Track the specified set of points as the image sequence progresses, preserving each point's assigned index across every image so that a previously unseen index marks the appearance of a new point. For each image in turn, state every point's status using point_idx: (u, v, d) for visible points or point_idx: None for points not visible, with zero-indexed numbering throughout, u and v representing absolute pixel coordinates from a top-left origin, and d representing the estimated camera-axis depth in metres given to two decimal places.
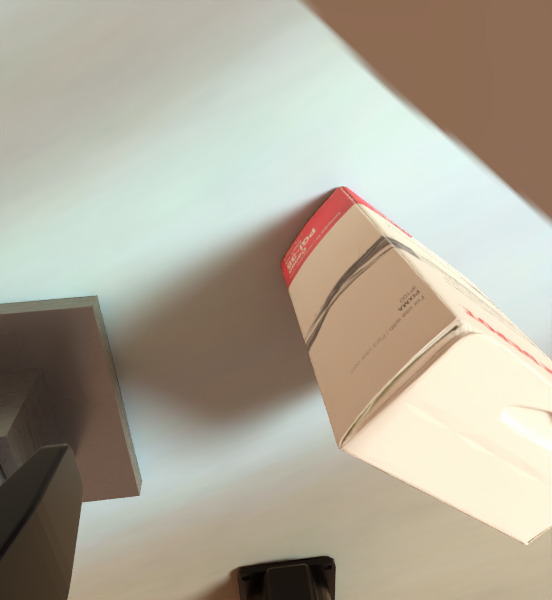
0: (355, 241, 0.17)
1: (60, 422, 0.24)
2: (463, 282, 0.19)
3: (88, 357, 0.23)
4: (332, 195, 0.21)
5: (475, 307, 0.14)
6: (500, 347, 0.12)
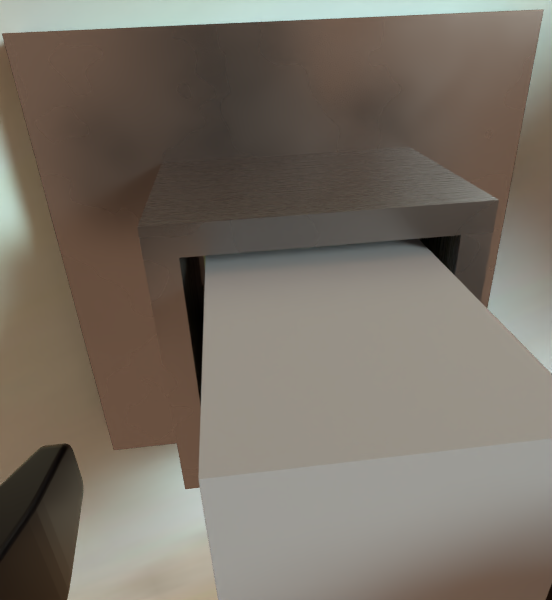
0: None
1: None
2: None
3: (493, 130, 0.13)
4: None
5: None
6: None
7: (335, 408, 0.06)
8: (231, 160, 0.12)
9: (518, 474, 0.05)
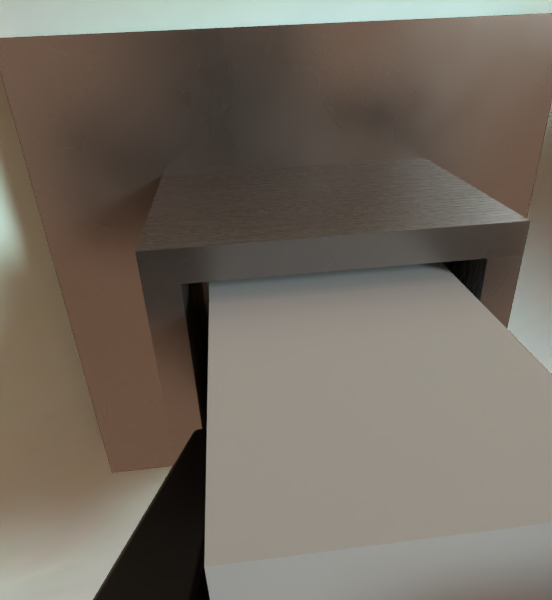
0: None
1: None
2: None
3: (514, 140, 0.12)
4: None
5: None
6: None
7: (360, 469, 0.05)
8: (236, 173, 0.11)
9: None
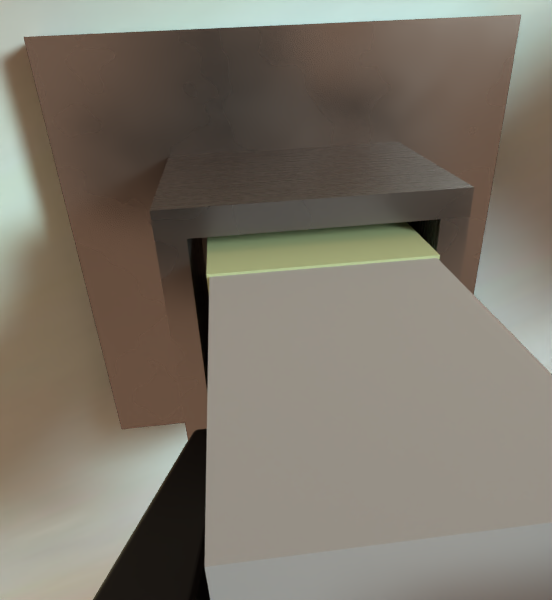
0: None
1: None
2: None
3: (476, 126, 0.14)
4: None
5: None
6: None
7: (360, 470, 0.05)
8: (233, 154, 0.13)
9: None
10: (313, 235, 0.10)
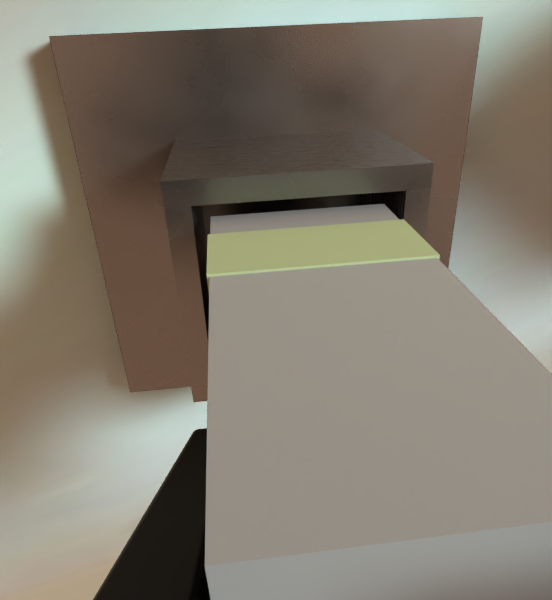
0: None
1: None
2: None
3: (446, 115, 0.15)
4: None
5: None
6: None
7: (360, 469, 0.05)
8: (231, 139, 0.15)
9: None
10: (313, 235, 0.10)
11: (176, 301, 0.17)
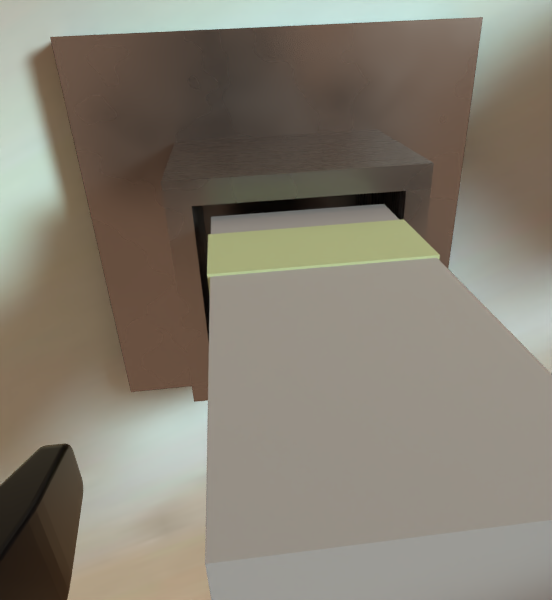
0: None
1: None
2: None
3: (446, 116, 0.15)
4: None
5: None
6: None
7: (360, 467, 0.05)
8: (231, 140, 0.15)
9: None
10: (313, 235, 0.10)
11: (177, 301, 0.17)
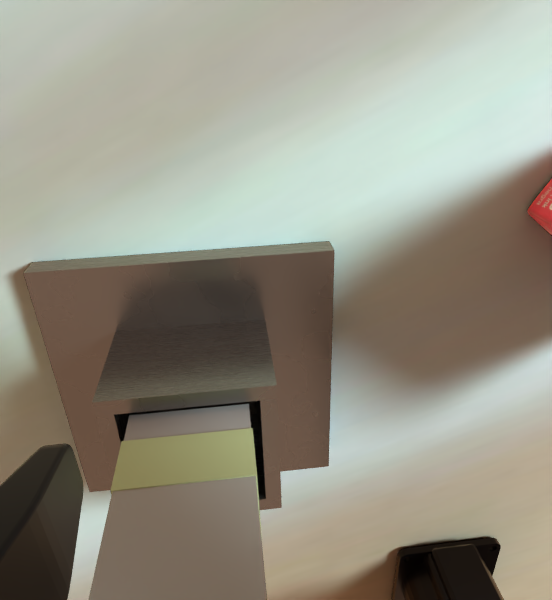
0: None
1: None
2: None
3: (315, 309, 0.21)
4: None
5: None
6: None
7: None
8: (156, 330, 0.20)
9: None
10: (188, 446, 0.16)
11: None
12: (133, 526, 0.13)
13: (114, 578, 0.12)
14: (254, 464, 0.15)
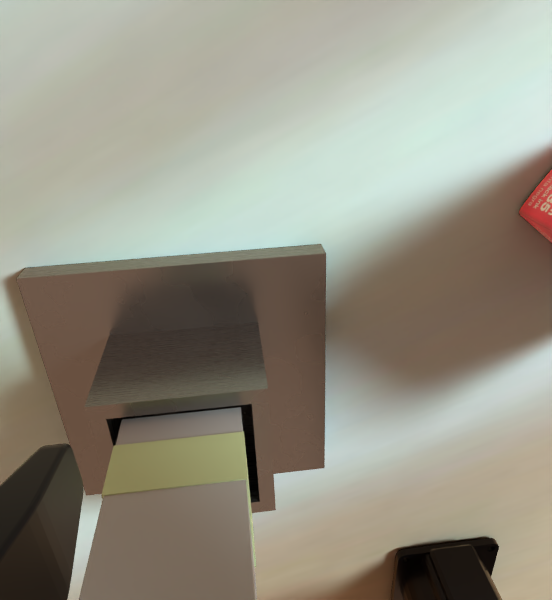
0: None
1: None
2: None
3: (308, 311, 0.21)
4: None
5: None
6: None
7: None
8: (149, 335, 0.21)
9: None
10: (179, 450, 0.16)
11: None
12: (123, 531, 0.14)
13: (103, 583, 0.12)
14: (245, 468, 0.15)
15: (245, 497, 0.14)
